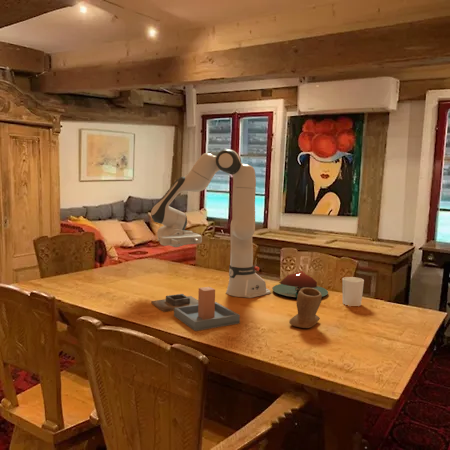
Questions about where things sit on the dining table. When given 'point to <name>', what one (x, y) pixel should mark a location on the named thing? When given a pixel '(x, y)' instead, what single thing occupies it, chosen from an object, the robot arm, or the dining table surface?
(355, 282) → the candle holder
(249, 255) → the robot arm
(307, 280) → the red dome on disc
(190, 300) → the holder
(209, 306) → the terracotta block
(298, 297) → the stone cup
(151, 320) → the dining table surface
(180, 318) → the tray
